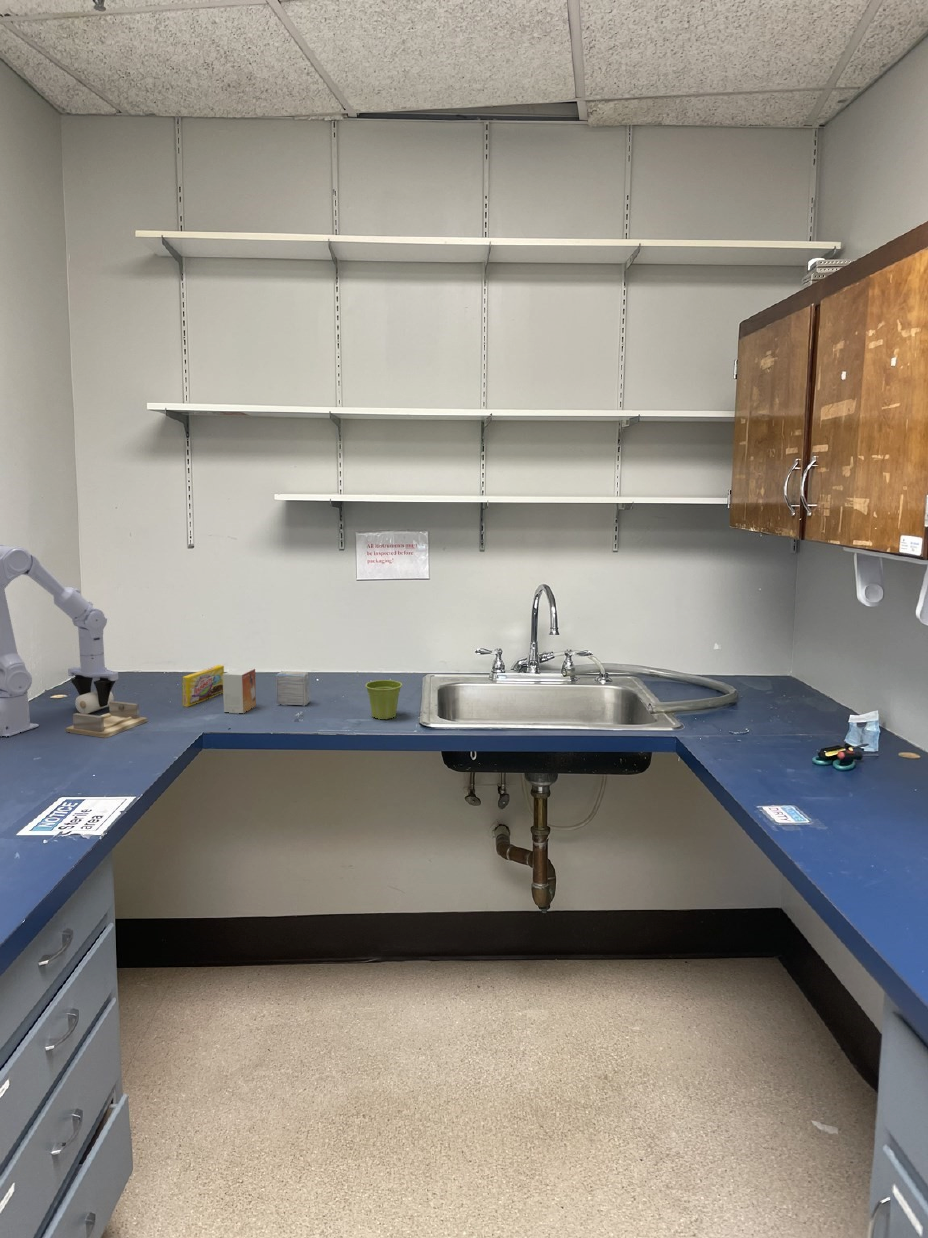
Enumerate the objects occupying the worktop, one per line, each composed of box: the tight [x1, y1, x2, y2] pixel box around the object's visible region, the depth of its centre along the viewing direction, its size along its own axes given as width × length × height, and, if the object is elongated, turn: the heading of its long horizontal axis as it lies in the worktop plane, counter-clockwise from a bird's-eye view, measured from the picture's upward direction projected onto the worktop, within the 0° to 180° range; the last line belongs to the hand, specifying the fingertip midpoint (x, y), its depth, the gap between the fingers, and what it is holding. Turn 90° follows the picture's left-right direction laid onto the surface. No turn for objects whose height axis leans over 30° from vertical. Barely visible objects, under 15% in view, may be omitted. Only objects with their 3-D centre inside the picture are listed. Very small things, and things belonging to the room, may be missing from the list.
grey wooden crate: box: [275, 670, 310, 706], centre depth 221 cm, size 8×4×9 cm, turn 84°
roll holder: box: [65, 700, 148, 739], centre depth 199 cm, size 14×12×4 cm
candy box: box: [182, 664, 225, 708], centre depth 225 cm, size 16×2×8 cm, turn 161°
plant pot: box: [365, 679, 403, 720], centre depth 211 cm, size 9×9×9 cm
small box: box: [222, 667, 257, 714], centre depth 215 cm, size 8×6×10 cm
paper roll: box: [74, 690, 115, 715], centre depth 212 cm, size 8×5×5 cm, turn 161°
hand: (95, 704), depth 213 cm, fingers closed on paper roll, 5 cm apart
